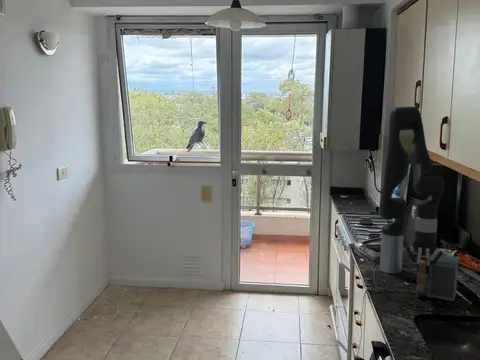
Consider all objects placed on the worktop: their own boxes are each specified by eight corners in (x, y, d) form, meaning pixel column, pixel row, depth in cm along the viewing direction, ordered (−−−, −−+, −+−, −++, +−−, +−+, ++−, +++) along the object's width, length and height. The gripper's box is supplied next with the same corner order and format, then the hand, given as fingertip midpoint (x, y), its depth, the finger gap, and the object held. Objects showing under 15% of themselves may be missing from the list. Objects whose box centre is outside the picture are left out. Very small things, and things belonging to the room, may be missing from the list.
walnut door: (421, 280, 189) (423, 252, 187) (430, 281, 187) (432, 254, 186) (416, 290, 178) (418, 262, 177) (426, 292, 177) (428, 263, 175)
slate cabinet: (419, 287, 199) (421, 252, 197) (456, 293, 193) (459, 257, 190) (415, 297, 189) (417, 260, 186) (454, 304, 183) (457, 266, 180)
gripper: (446, 229, 180) (443, 273, 183) (408, 224, 186) (405, 267, 189) (444, 233, 173) (441, 280, 176) (404, 229, 180) (402, 273, 182)
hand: (422, 273), depth 183 cm, fingers closed on walnut door, 2 cm apart
